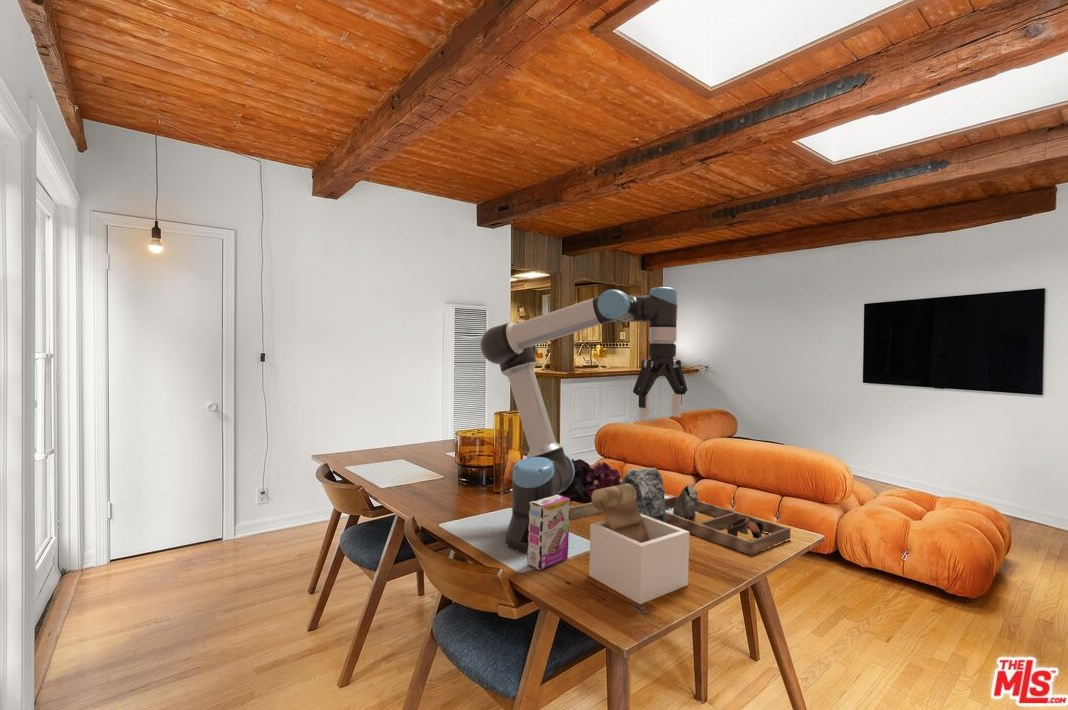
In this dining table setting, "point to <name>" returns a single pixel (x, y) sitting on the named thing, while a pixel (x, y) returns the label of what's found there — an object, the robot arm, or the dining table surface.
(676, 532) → the white open box
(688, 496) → the concrete fragment
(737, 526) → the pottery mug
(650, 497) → the stone block
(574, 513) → the florist crate
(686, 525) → the walnut tray
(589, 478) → the flower arrangement
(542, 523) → the candy bar box
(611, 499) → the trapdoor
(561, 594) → the dining table surface
